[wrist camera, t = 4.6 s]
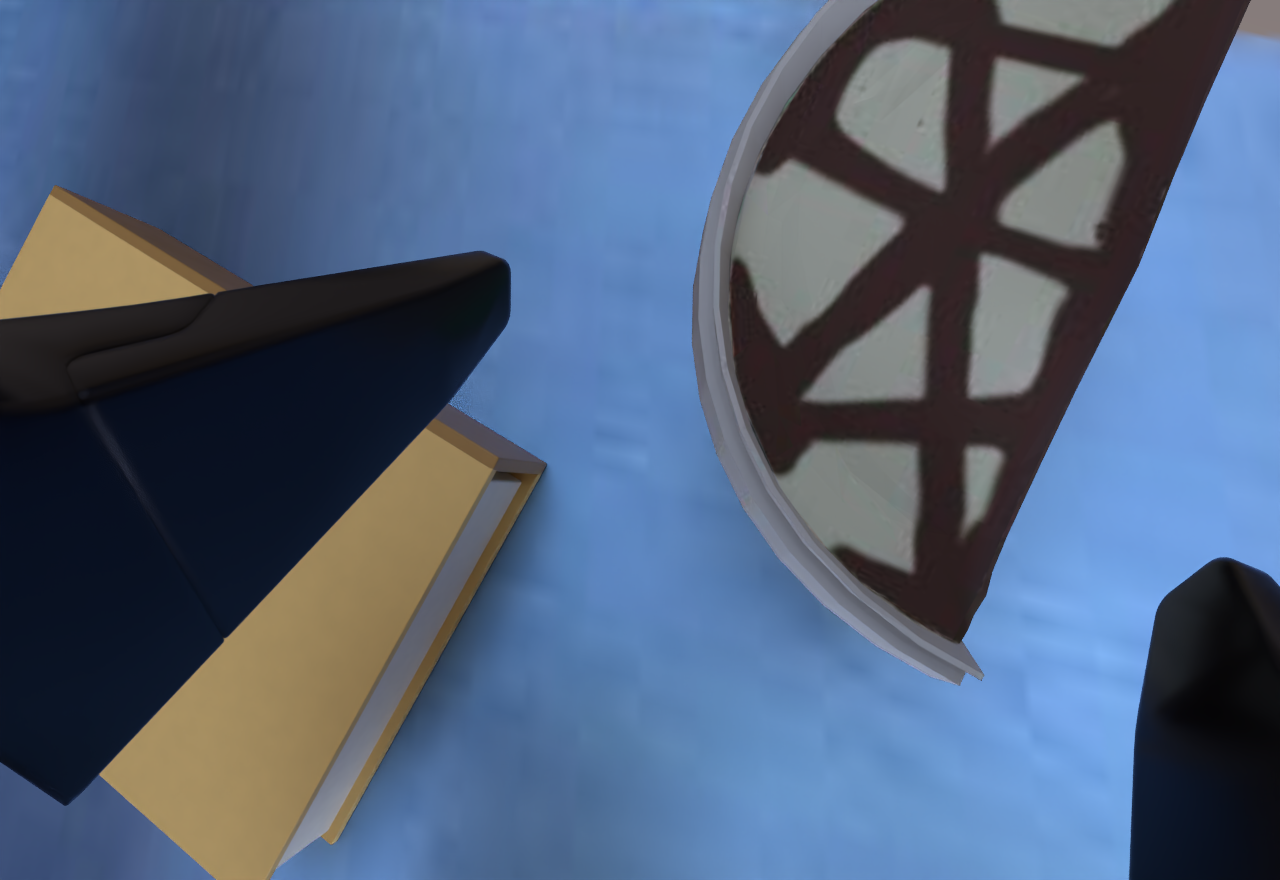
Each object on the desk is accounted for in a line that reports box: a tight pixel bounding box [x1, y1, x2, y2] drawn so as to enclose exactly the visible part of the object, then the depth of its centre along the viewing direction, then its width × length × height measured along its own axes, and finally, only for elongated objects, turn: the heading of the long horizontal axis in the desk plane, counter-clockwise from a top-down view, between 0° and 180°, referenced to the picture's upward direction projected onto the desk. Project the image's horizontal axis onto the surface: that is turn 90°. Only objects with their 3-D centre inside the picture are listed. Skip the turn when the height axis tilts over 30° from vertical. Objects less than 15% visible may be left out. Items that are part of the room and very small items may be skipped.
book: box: [0, 185, 547, 880], centre depth 21 cm, size 17×13×4 cm
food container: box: [692, 0, 1251, 686], centre depth 14 cm, size 12×6×10 cm, turn 155°
